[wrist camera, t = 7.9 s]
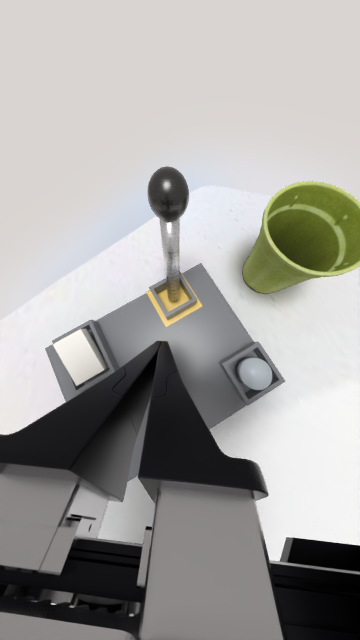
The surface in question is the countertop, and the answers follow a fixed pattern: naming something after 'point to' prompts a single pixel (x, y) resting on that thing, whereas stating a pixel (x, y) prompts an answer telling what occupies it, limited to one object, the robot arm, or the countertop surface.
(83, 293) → the countertop surface
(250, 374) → the push button
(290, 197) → the plant pot
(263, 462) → the countertop surface
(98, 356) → the rocker switch
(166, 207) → the toggle lever
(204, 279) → the switch panel
